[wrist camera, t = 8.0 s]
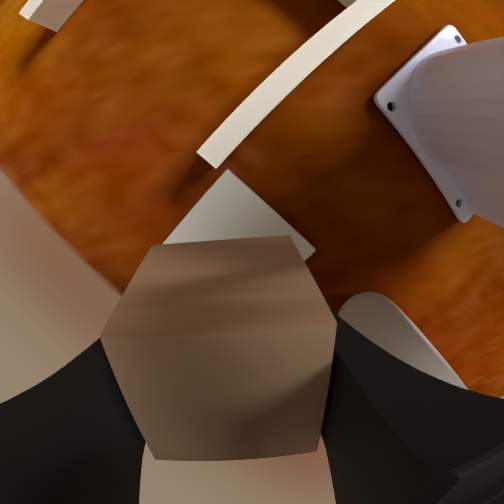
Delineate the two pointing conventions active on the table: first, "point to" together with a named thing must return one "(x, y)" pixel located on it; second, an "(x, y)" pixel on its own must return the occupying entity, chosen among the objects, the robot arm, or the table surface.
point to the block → (223, 350)
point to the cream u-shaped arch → (270, 90)
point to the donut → (396, 334)
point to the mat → (234, 217)
